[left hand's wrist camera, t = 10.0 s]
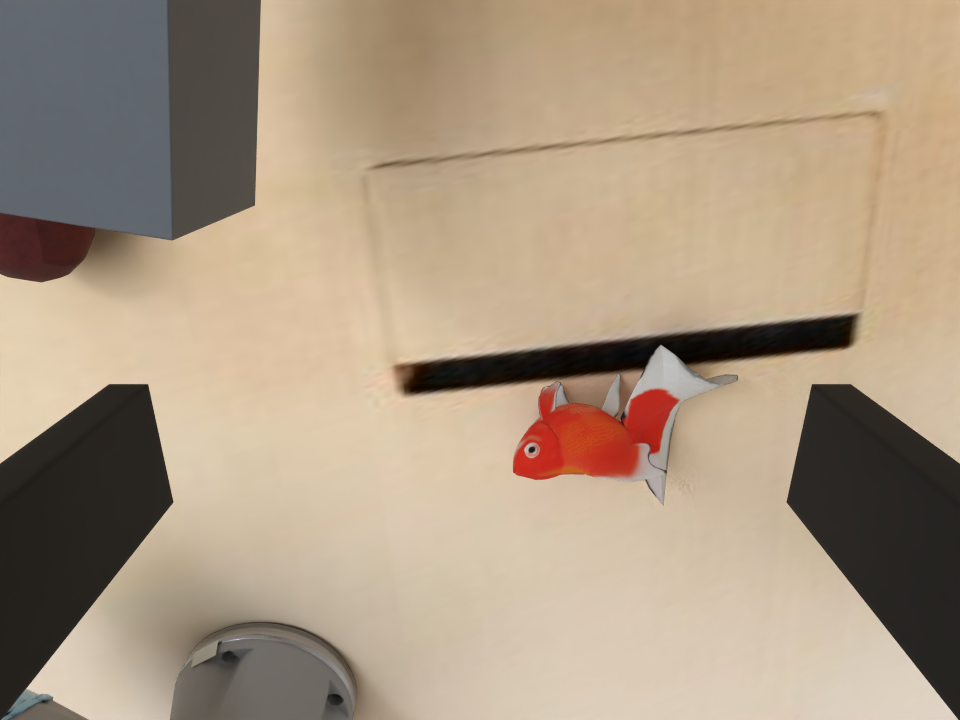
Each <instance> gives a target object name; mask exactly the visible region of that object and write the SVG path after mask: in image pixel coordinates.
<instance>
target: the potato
mask: <svg viewBox="0 0 960 720" xmlns="http://www.w3.org/2000/svg"><path fill="white" fill-rule="evenodd" d="M94 233H95V228H92V227H85V226H79V225H73V224H67V223H60V222H54V221H48V220H41V219H35V218H29V217H22V216H16V215H10V214H4V213H0V274H2V275H4V276H7V277H11V278H17V279H23V280H29V281H36V282H45V281H49V280H53V279H57V278H61V277H63V276H66V275H68V274H70V273H71V272H72V271H73V270H74V269H75V268H76V267H77V266H78V265H79V264H80V263H81V262H82V261H83V260H84V258H85V257H86V255H87V252H88V250H89V247H90V245H91V242H92V240H93V237H94Z"/></svg>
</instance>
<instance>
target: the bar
mask: <svg viewBox="0 0 960 720" xmlns="http://www.w3.org/2000/svg"><path fill="white" fill-rule="evenodd" d="M260 8H261V0H0V213H4V214H10V215H16V216H22V217H29V218H35V219H41V220H48V221H54V222H60V223H67V224H73V225H79V226H85V227H92V228H98V229H104V230H111V231H117V232H123V233H129V234H136V235H142V236H148V237H155V238H161V239H167V240H174V239H177V238H179V237H181V236H184V235H186V234H189V233H191V232H193V231H196V230H198V229H200V228H203V227H205V226H207V225H210V224H212V223H214V222H217V221H219V220H222V219H224V218H226V217H229V216H231V215H233V214H236V213H238V212H240V211H243V210H245V209H248V208H250V207H252V206H255V183H256V148H257V113H258V78H259V43H260Z"/></svg>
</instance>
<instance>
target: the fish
mask: <svg viewBox="0 0 960 720" xmlns="http://www.w3.org/2000/svg"><path fill="white" fill-rule="evenodd" d="M737 380H738V375H721V376H717V377H713V378H709V379H705V378H703V377H701V376H700V375H698V374H697V373H695V372H694V371H692V370H691V369H689V368H688V367H687V366H686V365H685V364H684V363H683V362H682V361H681V360H680V359H679V358H678V357H677V356H676V355H674V354H673V353H671V352H670V351H669V350H667V349H666V348H665V347H663V346H662V345H660V346H659V347H658V348H657V350H656V351H655V352H654V353H653V354H652V355H651V356H650V358H649V360H648V362H647V364H646V367H645V369H644V371H643V373H642V375H641V377H640V379H639V381H638V383H637V385H636V387H635V389H634V390H633V393H632V395H631V397H630V399H629V401H628V403H627V405H626V407H625V410H624V412H623V414H622V416H621V422H620V421H619V420H617V419H616V418H615V417H616V415H617V414H618V412H619V409H620V374H618V375H617V377H616V379H615V380H614V382H613V384H612V386H611V388H610V390H609V392H608V394H607V397H606V400H605V403H604V405H603V407H602V408H601V409H599V408H597V407H594V406H591V405H586V404H576V403H569V402H568V400H567V398H566V395H565V392H564V389H563V386H561V382H555V383H553V384H552V385H551V386H547V387H543V389H542V390H541V394H540V396H539V398H538V405H539V412H540V416H541V417H539V418H538V420H537V421H536V422H535V423H534V424H533V425H532V426H531V427H530V428H529V429H528V431H527V432H526V433H525V435H524V436H523V438H522V439H521V441H520V442H519V444H518V446H517V448H516V451H515V454H514V459H513V473H515V474H516V475H518V476H523V477H527V478H531V479H535V480H543V479H549V478H553V477H556V476H558V475H562V474H587V475H589V476H593V477H599V478H605V479H612V480H619V481H628V482H634V481H639V480H646V482H647V484H648V486H649V488H650V490H651V491H652V492H653V494H654V495H655V496H656V497H657V499H658V500H659V501H660V502H661V504H662V505H664V494H665V484H666V473H667V465H668V457H669V448H670V440H671V435H672V430H673V425H674V420H675V416H676V413H677V411H678V408H679V406H680V404H681V402H682V401H685V400H687V399H689V398H692V397H694V396H696V395H699V394H701V393H704V392H707V391H710V390H713V389H716V388H718V387H721V386H724V385H726V384H730V383H732V382H735V381H737Z"/></svg>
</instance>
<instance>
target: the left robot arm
mask: <svg viewBox="0 0 960 720" xmlns="http://www.w3.org/2000/svg"><path fill="white" fill-rule="evenodd" d="M172 503H173V498H172V494H171V489H170V484H169V480H168V475H167V470H166V466H165V461H164V456H163V452H162V447H161V443H160V438H159V433H158V429H157V424H156V419H155V415H154V410H153V405H152V401H151V396H150V391H149V387H148V384H109V385H108V386H106V387H105V388H104V389H102V390H101V391H99V392H98V393H97V394H95V395H94V396H93V397H91V398H90V399H88V400H87V401H86V402H84V403H83V404H82V405H80V406H79V407H77V408H76V409H75V410H73V411H72V412H71V413H69V414H68V415H66V416H65V417H64V418H62V419H61V420H60V421H58V422H57V423H55V424H54V425H53V426H51V427H50V428H49V429H47V430H46V431H44V432H43V433H42V434H40V435H39V436H38V437H36V438H35V439H34V440H32V441H31V442H29V443H28V444H27V445H25V446H24V447H23V448H21V449H20V450H18V451H17V452H16V453H14V454H13V455H12V456H10V457H9V458H7V459H6V460H5V461H3V462H2V463H1V464H0V720H88V719H86V718H84V717H82V716H81V715H79V714H77V713H75V712H73V711H71V710H69V709H68V708H66V707H64V706H62V705H60V704H58V703H56V702H55V701H53V697H52V696H50V695H48V694H41V695H38V694H36V693H34V692H32V691H30V690H28V689H26V688H27V687H28V686H29V684H30V683H31V682H32V680H33V679H34V678H35V677H36V675H37V674H38V673H39V672H40V670H41V669H42V668H43V667H44V665H45V664H46V663H47V661H48V660H49V659H50V658H51V656H52V655H53V654H54V653H55V651H56V650H57V649H58V648H59V646H60V645H61V644H62V642H63V641H64V640H65V639H66V637H67V636H68V635H69V634H70V632H71V631H72V630H73V629H74V627H75V626H76V625H77V624H78V622H79V621H80V620H81V618H82V617H83V616H84V615H85V613H86V612H87V611H88V610H89V608H90V607H91V606H92V605H93V603H94V602H95V601H96V599H97V598H98V597H99V596H100V594H101V593H102V592H103V591H104V589H105V588H106V587H107V586H108V584H109V583H110V582H111V581H112V579H113V578H114V577H115V575H116V574H117V573H118V572H119V570H120V569H121V568H122V567H123V565H124V564H125V563H126V562H127V560H128V559H129V558H130V556H131V555H132V554H133V553H134V551H135V550H136V549H137V548H138V546H139V545H140V544H141V543H142V541H143V540H144V539H145V537H146V536H147V535H148V534H149V532H150V531H151V530H152V529H153V527H154V526H155V525H156V524H157V522H158V521H159V520H160V519H161V517H162V516H163V515H164V513H165V512H166V511H167V510H168V508H169V507H170V506H171V505H172ZM787 503H788V505H789V506H790V507H791V508H792V510H793V511H794V512H795V513H796V515H797V516H798V517H799V519H800V520H801V521H802V522H803V524H804V525H805V526H806V527H807V529H808V530H809V531H810V532H811V534H812V535H813V536H814V537H815V539H816V540H817V541H818V543H819V544H820V545H821V546H822V548H823V549H824V550H825V551H826V553H827V554H828V555H829V556H830V558H831V559H832V560H833V562H834V563H835V564H836V565H837V567H838V568H839V569H840V570H841V572H842V573H843V574H844V575H845V577H846V578H847V579H848V581H849V582H850V583H851V584H852V586H853V587H854V588H855V589H856V591H857V592H858V593H859V594H860V596H861V597H862V598H863V599H864V601H865V602H866V603H867V605H868V606H869V607H870V608H871V610H872V611H873V612H874V613H875V615H876V616H877V617H878V618H879V620H880V621H881V622H882V624H883V625H884V626H885V627H886V629H887V630H888V631H889V632H890V634H891V635H892V636H893V637H894V639H895V640H896V641H897V642H898V644H899V645H900V646H901V648H902V649H903V650H904V651H905V653H906V654H907V655H908V656H909V658H910V659H911V660H912V661H913V663H914V664H915V665H916V667H917V668H918V669H919V670H920V672H921V673H922V674H923V675H924V677H925V678H926V679H927V680H928V682H929V683H930V684H931V686H932V687H933V688H934V689H935V691H936V692H937V693H938V694H939V696H940V697H941V698H942V699H943V701H944V702H945V703H946V704H947V706H948V707H949V708H950V710H951V711H952V712H953V713H954V715H955V716H956V717H957V718H958V720H960V464H959V463H958V462H957V461H955V460H954V459H953V458H951V457H950V456H948V455H947V454H946V453H944V452H943V451H942V450H940V449H939V448H937V447H936V446H935V445H933V444H932V443H931V442H929V441H928V440H926V439H925V438H924V437H922V436H921V435H920V434H918V433H917V432H916V431H914V430H913V429H911V428H910V427H909V426H907V425H906V424H905V423H903V422H902V421H900V420H899V419H898V418H896V417H895V416H894V415H892V414H891V413H889V412H888V411H887V410H885V409H884V408H883V407H881V406H880V405H878V404H877V403H876V402H874V401H873V400H872V399H870V398H869V397H867V396H866V395H865V394H863V393H862V392H861V391H859V390H858V389H856V388H855V387H854V386H852V385H851V384H812V387H811V391H810V396H809V401H808V405H807V410H806V415H805V419H804V424H803V429H802V433H801V438H800V442H799V447H798V452H797V456H796V461H795V466H794V470H793V475H792V480H791V484H790V489H789V494H788V498H787ZM356 698H357V690H356V683H355V680H354V677H353V674H352V672H351V670H350V668H349V666H348V665H347V663H346V662H345V661H344V659H343V658H342V657H341V656H340V655H339V654H338V653H337V652H336V651H335V650H334V649H333V648H332V647H330V646H329V645H328V644H326V643H325V642H323V641H322V640H320V639H319V638H317V637H315V636H313V635H311V634H309V633H307V632H304V631H302V630H299V629H296V628H293V627H289V626H285V625H280V624H273V623H246V624H240V625H235V626H231V627H227V628H224V629H222V630H219V631H217V632H215V633H213V634H211V635H210V636H208V637H206V638H205V639H204V640H202V641H201V642H200V643H199V644H198V645H197V646H196V647H195V648H194V650H193V651H192V652H191V654H190V655H189V657H188V659H187V661H186V662H185V664H184V666H183V668H182V670H181V672H180V674H179V676H178V678H177V681H176V685H175V690H174V696H173V703H172V710H171V717H170V720H352V719H353V714H354V709H355V705H356Z"/></svg>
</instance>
